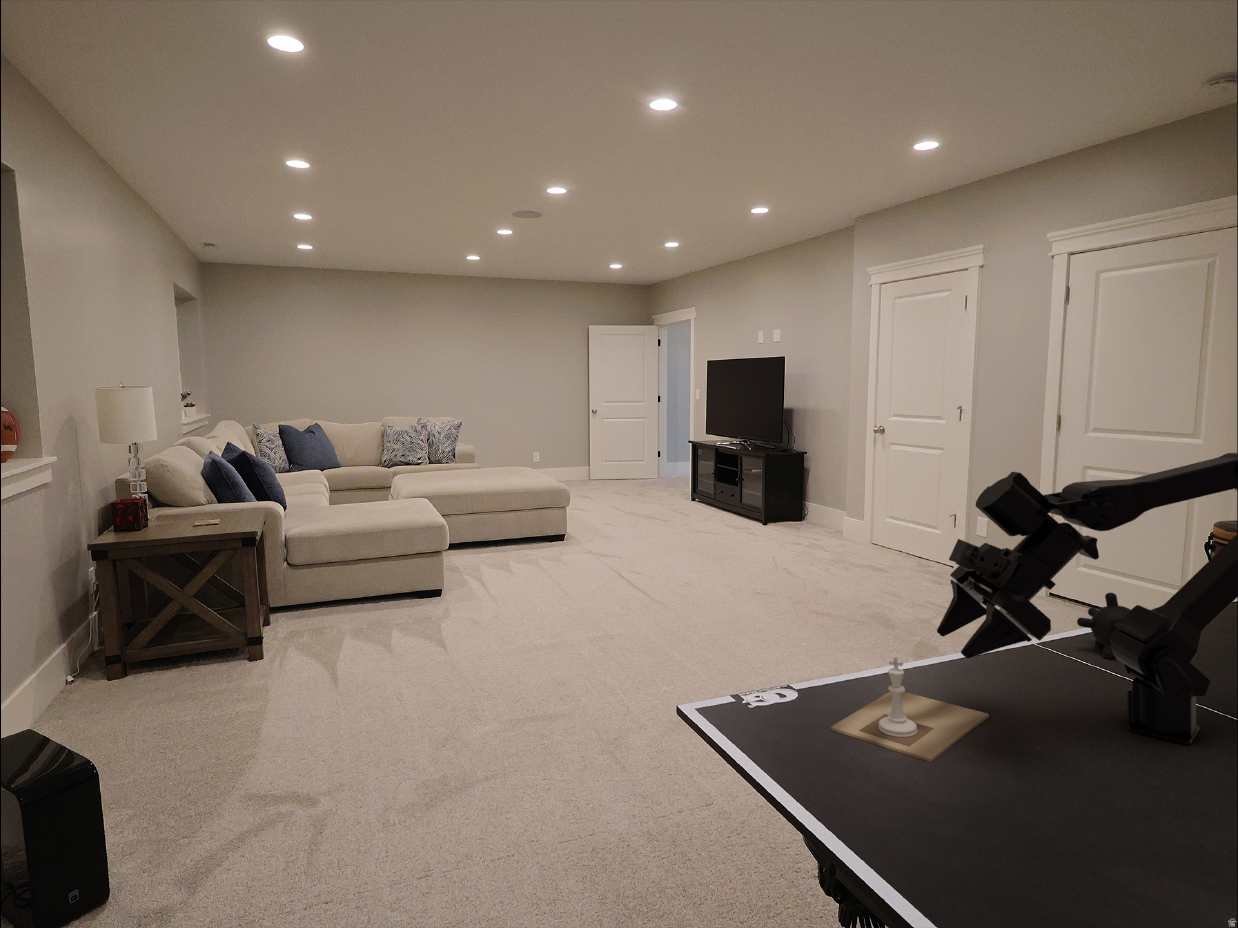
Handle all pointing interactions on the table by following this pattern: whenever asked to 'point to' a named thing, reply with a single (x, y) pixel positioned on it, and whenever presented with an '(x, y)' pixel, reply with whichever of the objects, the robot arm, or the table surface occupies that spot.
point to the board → (932, 718)
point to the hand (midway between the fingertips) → (950, 644)
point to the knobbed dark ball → (1105, 622)
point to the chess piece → (897, 707)
